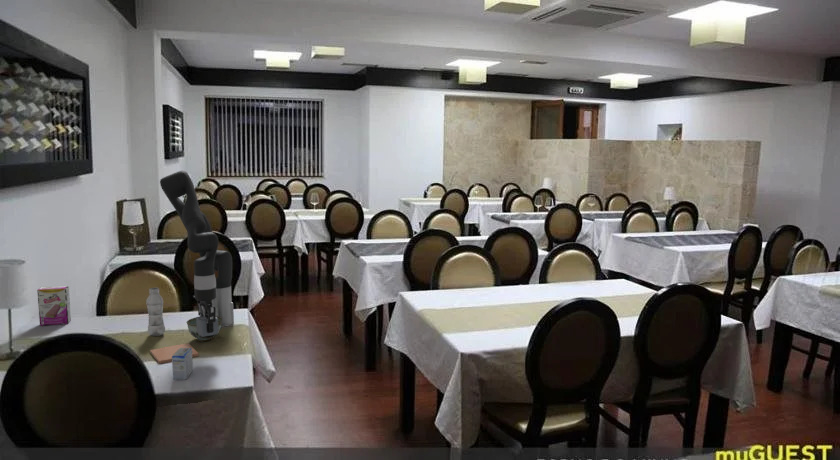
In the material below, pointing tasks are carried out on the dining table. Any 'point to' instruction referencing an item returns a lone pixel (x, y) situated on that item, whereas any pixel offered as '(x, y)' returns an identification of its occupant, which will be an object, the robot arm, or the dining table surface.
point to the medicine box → (182, 363)
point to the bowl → (193, 329)
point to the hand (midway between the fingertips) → (207, 329)
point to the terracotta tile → (170, 352)
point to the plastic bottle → (155, 313)
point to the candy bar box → (54, 305)
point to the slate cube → (205, 326)
